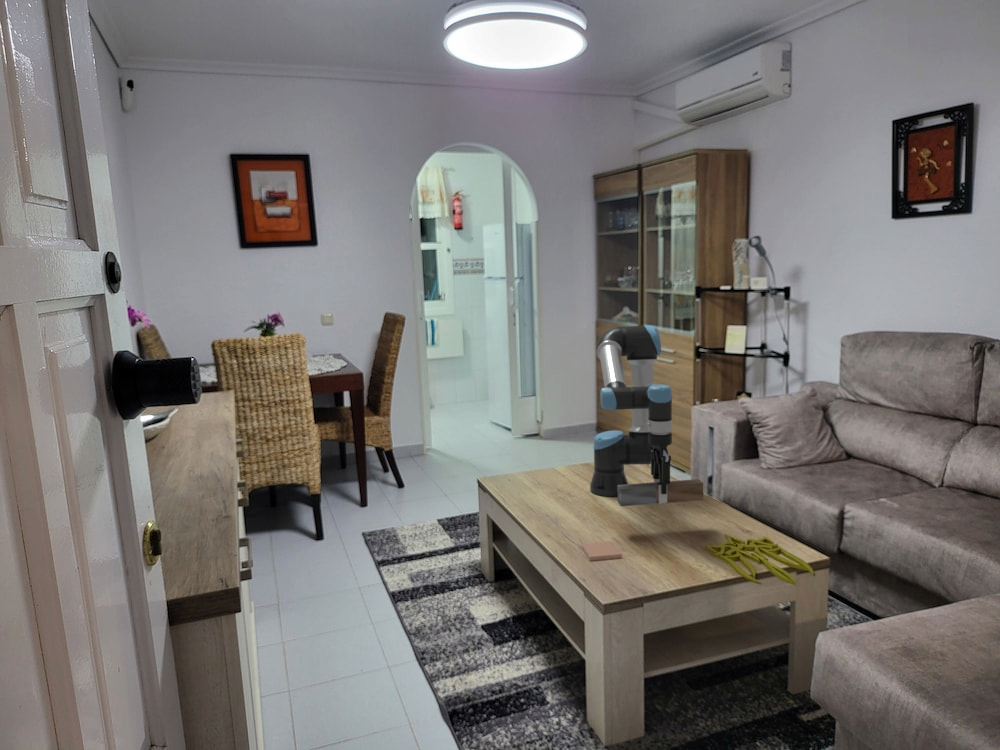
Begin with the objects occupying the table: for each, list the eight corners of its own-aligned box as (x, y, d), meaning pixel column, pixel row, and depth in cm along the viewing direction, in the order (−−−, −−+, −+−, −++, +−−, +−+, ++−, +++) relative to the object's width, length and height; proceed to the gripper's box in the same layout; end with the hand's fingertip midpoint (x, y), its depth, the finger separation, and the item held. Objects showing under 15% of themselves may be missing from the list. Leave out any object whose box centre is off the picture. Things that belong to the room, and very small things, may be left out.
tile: (612, 546, 216) (581, 548, 215) (612, 541, 216) (581, 543, 215) (621, 559, 206) (589, 562, 205) (621, 554, 206) (589, 556, 205)
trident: (755, 529, 221) (830, 575, 187) (755, 533, 221) (830, 581, 187) (693, 538, 216) (760, 587, 182) (693, 542, 216) (759, 593, 182)
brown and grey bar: (617, 502, 226) (617, 485, 225) (698, 496, 228) (698, 479, 228) (621, 506, 222) (620, 488, 221) (703, 500, 224) (703, 482, 224)
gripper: (640, 427, 229) (641, 493, 233) (657, 439, 213) (658, 510, 216) (662, 425, 230) (662, 491, 234) (680, 437, 213) (680, 508, 217)
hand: (660, 500), depth 225 cm, fingers closed on brown and grey bar, 4 cm apart
